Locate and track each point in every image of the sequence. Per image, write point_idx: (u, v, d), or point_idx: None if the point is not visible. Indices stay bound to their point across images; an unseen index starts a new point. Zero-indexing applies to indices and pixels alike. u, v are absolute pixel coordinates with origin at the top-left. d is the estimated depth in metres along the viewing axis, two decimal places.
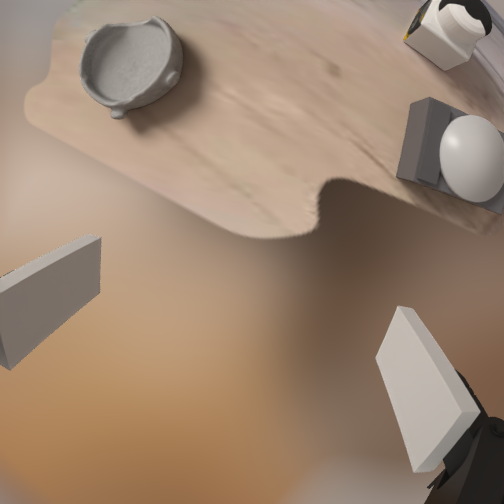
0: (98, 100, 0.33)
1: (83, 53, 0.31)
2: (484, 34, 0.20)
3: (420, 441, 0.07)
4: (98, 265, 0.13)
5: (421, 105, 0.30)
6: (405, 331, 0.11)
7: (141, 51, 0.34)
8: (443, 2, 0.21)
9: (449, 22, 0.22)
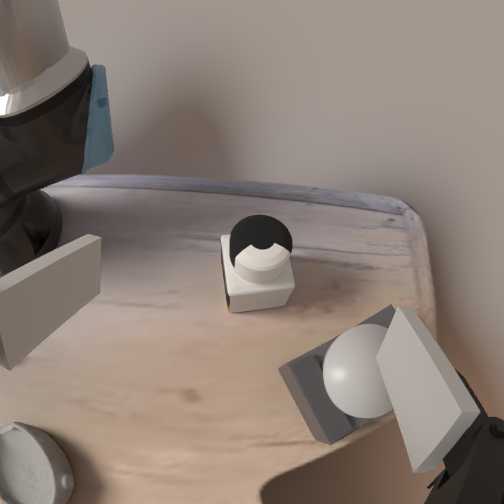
0: None
1: None
2: (289, 253, 0.30)
3: (420, 441, 0.07)
4: (98, 265, 0.13)
5: (286, 371, 0.32)
6: (405, 331, 0.11)
7: (26, 456, 0.26)
8: (231, 256, 0.31)
9: (250, 274, 0.31)
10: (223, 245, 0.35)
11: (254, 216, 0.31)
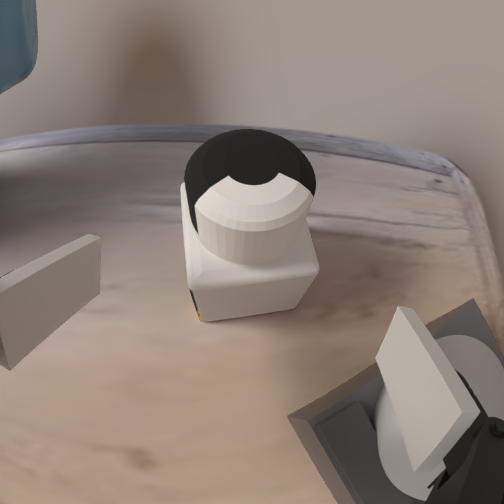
0: None
1: None
2: (310, 195, 0.14)
3: (420, 441, 0.07)
4: (98, 265, 0.13)
5: (305, 430, 0.16)
6: (405, 331, 0.11)
7: None
8: (189, 207, 0.15)
9: (229, 243, 0.14)
10: (183, 198, 0.19)
11: (237, 130, 0.15)
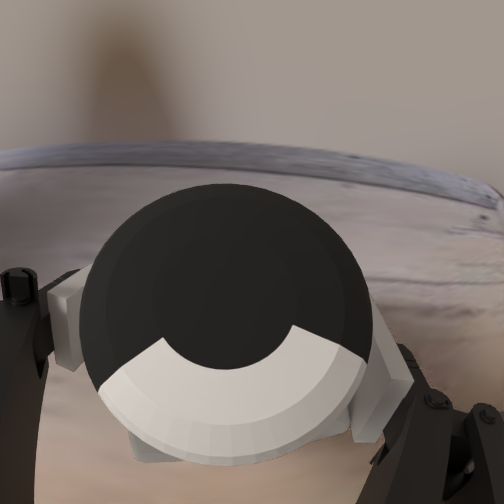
0: None
1: None
2: (362, 367, 0.06)
3: (359, 410, 0.09)
4: None
5: None
6: None
7: None
8: None
9: None
10: None
11: (197, 189, 0.07)
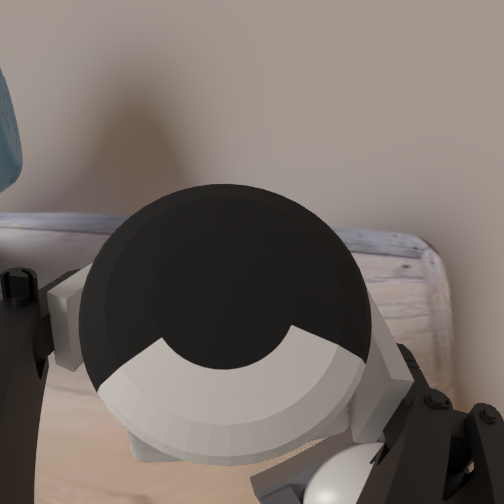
0: None
1: None
2: (360, 366, 0.06)
3: (359, 410, 0.09)
4: None
5: None
6: None
7: None
8: None
9: None
10: None
11: (196, 189, 0.07)
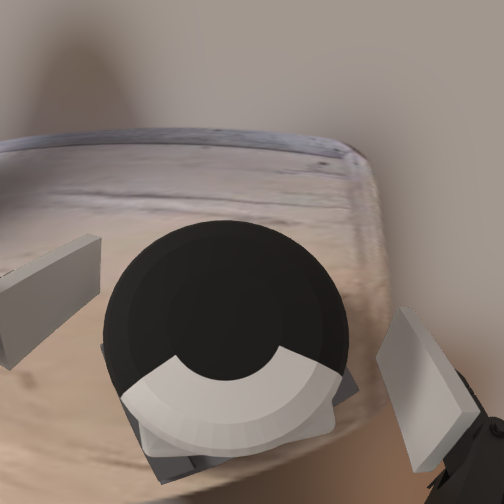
0: None
1: None
2: (337, 379, 0.07)
3: (420, 441, 0.07)
4: (98, 265, 0.13)
5: None
6: (405, 331, 0.11)
7: None
8: None
9: None
10: None
11: (202, 226, 0.08)
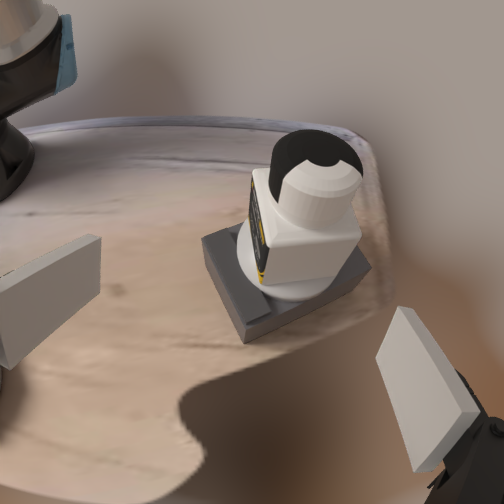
0: None
1: None
2: (360, 176, 0.19)
3: (420, 441, 0.07)
4: (98, 265, 0.13)
5: (205, 254, 0.33)
6: (405, 331, 0.11)
7: None
8: (274, 182, 0.20)
9: (305, 207, 0.20)
10: (256, 180, 0.24)
11: (305, 130, 0.21)
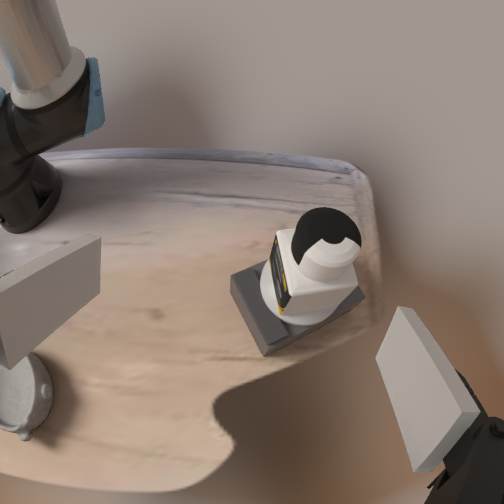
0: (4, 428, 0.28)
1: None
2: (359, 248, 0.27)
3: (420, 441, 0.07)
4: (98, 265, 0.13)
5: (233, 287, 0.41)
6: (405, 331, 0.11)
7: (15, 376, 0.34)
8: (297, 252, 0.28)
9: (318, 271, 0.27)
10: (280, 241, 0.32)
11: (320, 208, 0.28)
